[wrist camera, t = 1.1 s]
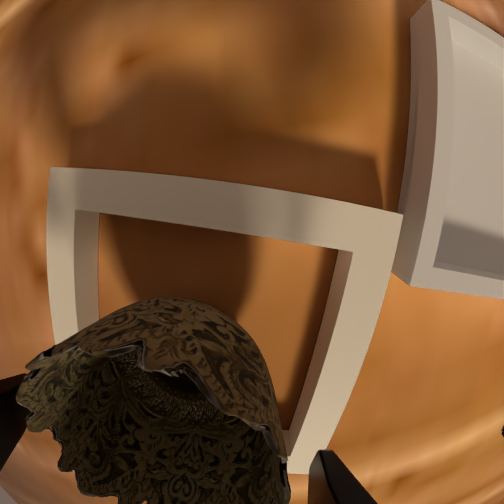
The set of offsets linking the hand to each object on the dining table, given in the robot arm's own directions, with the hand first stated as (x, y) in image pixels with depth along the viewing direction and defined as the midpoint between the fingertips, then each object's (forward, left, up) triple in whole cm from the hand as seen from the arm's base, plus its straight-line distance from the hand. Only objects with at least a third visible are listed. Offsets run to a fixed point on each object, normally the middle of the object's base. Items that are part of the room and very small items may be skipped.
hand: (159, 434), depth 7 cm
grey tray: (-13, -11, -6) cm, 18 cm away
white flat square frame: (0, 0, -6) cm, 6 cm away
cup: (0, 0, -6) cm, 6 cm away
